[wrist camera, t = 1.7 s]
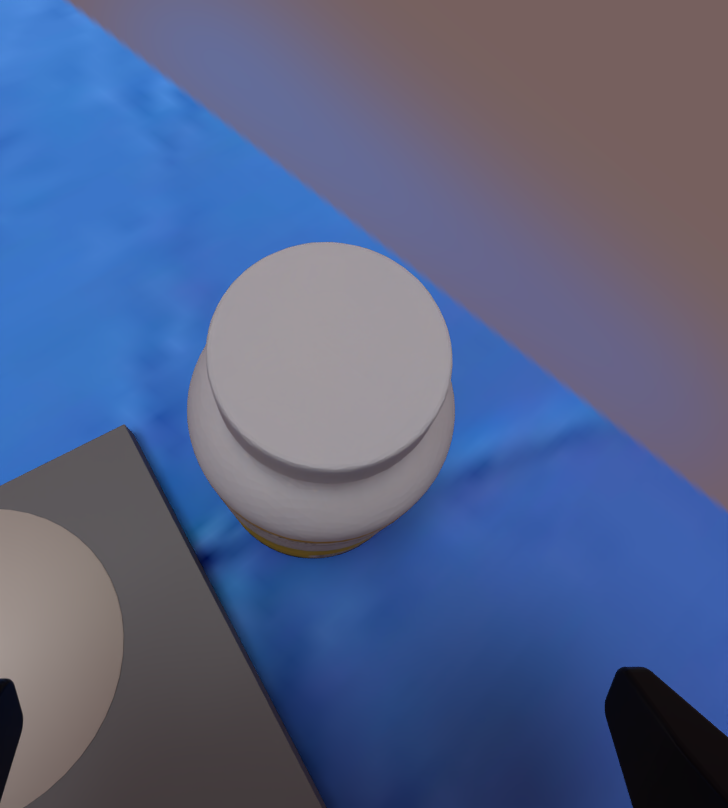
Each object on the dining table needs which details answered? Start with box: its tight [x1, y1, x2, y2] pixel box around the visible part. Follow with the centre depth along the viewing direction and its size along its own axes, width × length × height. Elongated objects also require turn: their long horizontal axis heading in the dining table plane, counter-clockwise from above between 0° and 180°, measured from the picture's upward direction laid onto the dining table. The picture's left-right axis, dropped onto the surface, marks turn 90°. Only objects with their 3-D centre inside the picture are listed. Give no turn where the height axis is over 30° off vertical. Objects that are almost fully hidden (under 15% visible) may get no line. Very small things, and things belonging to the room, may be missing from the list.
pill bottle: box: [187, 242, 455, 558], centre depth 17 cm, size 6×6×12 cm
